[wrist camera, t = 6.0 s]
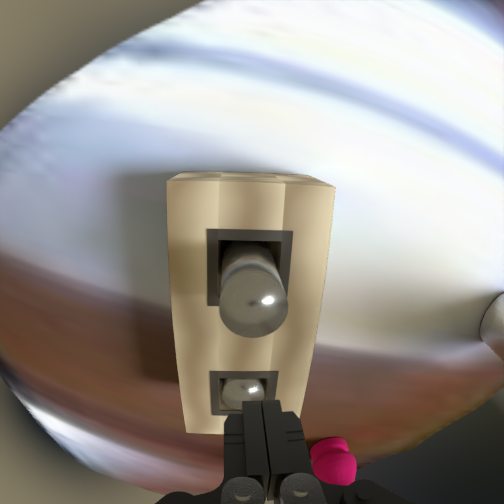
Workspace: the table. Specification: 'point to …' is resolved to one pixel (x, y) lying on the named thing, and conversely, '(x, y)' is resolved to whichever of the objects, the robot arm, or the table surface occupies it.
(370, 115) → the table surface
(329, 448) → the pepper mill
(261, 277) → the peg
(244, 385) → the peg
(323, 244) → the collar block
